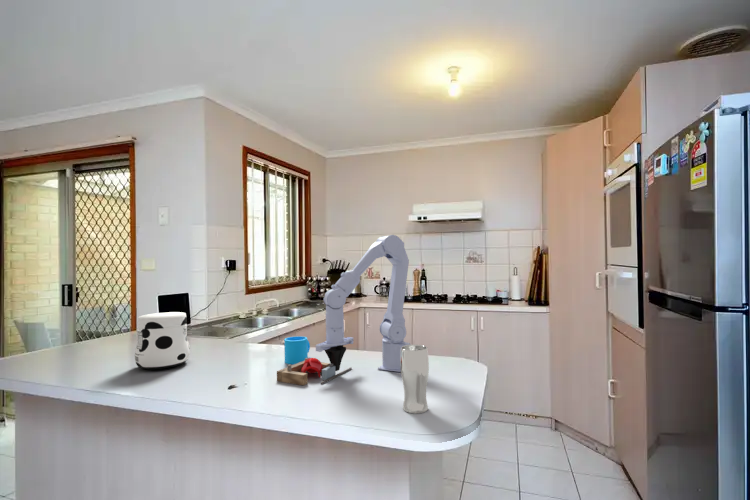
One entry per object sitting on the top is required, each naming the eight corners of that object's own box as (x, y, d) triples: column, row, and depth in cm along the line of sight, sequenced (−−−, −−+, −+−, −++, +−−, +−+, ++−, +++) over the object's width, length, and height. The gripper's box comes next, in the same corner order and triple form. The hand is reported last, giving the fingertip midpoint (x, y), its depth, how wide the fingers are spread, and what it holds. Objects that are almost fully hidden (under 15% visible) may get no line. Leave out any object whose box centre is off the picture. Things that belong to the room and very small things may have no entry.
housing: (351, 369, 134) (351, 355, 134) (315, 387, 117) (315, 371, 117) (315, 364, 141) (315, 351, 141) (276, 381, 123) (276, 366, 123)
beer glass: (399, 404, 102) (398, 344, 102) (426, 403, 103) (425, 343, 103) (403, 415, 95) (402, 351, 96) (432, 413, 96) (431, 350, 96)
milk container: (199, 359, 152) (198, 311, 152) (171, 373, 134) (170, 318, 134) (155, 359, 153) (155, 311, 153) (123, 372, 136) (122, 319, 136)
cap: (324, 369, 124) (326, 354, 129) (306, 364, 123) (308, 350, 128) (316, 386, 128) (317, 371, 133) (298, 381, 126) (300, 367, 131)
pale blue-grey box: (335, 375, 127) (335, 363, 127) (326, 380, 123) (326, 367, 123) (331, 374, 128) (331, 362, 128) (322, 379, 124) (321, 366, 124)
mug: (298, 365, 141) (297, 341, 141) (279, 362, 145) (279, 340, 145) (318, 357, 152) (317, 335, 152) (300, 355, 155) (300, 333, 155)
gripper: (326, 332, 121) (326, 377, 121) (359, 325, 132) (360, 367, 132) (310, 329, 126) (311, 373, 126) (344, 323, 136) (345, 363, 136)
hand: (335, 370), depth 129 cm, fingers closed
